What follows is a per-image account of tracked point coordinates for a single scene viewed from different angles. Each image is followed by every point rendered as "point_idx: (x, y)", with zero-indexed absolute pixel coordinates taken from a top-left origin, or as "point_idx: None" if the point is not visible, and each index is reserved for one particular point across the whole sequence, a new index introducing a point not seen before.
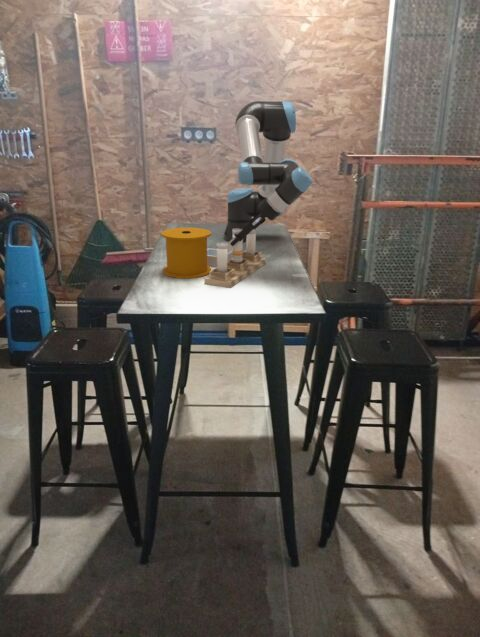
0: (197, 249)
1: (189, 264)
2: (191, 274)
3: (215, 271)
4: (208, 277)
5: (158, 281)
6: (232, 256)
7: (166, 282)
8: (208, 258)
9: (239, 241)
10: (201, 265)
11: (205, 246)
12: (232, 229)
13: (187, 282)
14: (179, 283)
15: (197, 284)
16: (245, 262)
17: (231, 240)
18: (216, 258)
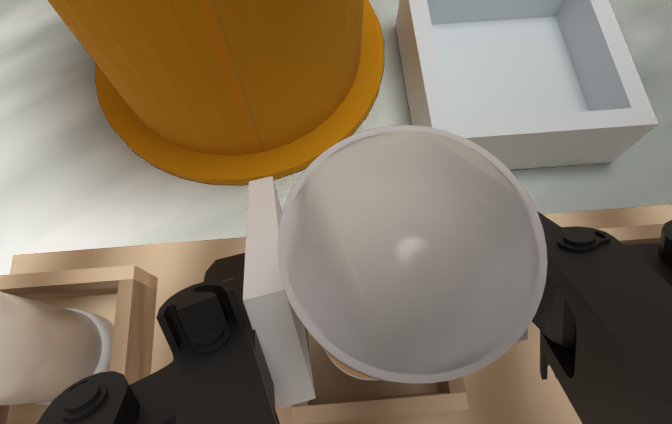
0: (89, 19)
1: (102, 70)
2: (141, 120)
3: (70, 288)
4: (41, 269)
5: (12, 36)
6: (622, 146)
7: (6, 74)
8: (414, 62)
9: (275, 389)
10: (184, 123)
11: (204, 26)
12: (341, 141)
13: (39, 163)
14: (8, 137)
15: (18, 233)
16: (381, 416)
17: (249, 251)
18: (426, 111)
